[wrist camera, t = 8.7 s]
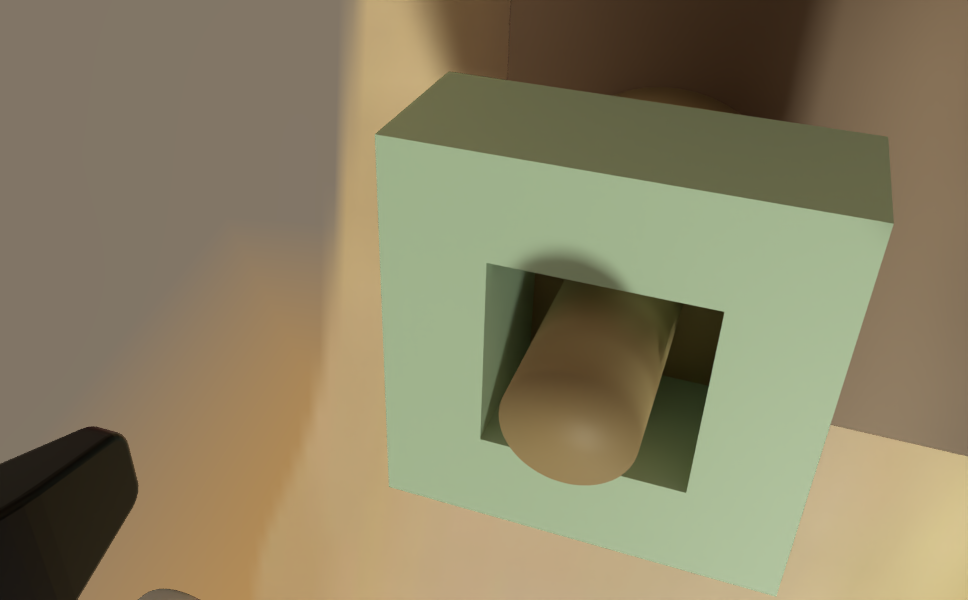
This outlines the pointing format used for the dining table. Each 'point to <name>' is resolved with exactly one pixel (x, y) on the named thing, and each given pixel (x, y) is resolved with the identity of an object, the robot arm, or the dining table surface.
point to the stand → (778, 96)
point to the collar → (632, 268)
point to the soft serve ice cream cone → (167, 595)
